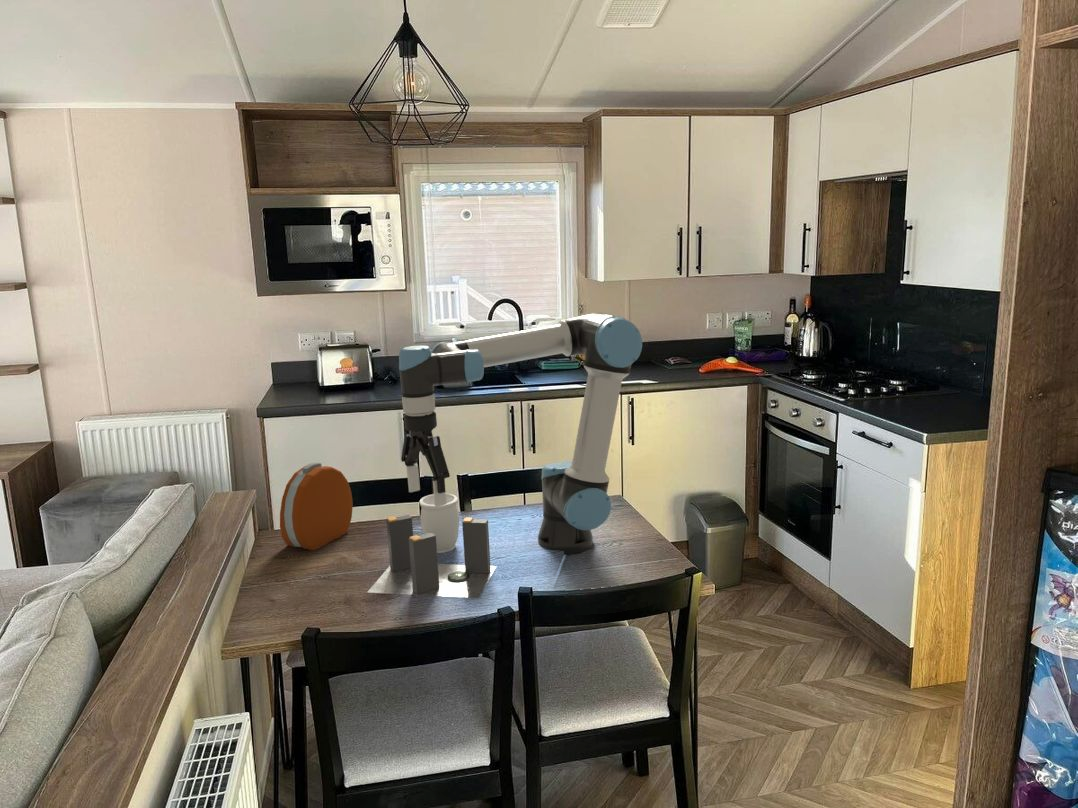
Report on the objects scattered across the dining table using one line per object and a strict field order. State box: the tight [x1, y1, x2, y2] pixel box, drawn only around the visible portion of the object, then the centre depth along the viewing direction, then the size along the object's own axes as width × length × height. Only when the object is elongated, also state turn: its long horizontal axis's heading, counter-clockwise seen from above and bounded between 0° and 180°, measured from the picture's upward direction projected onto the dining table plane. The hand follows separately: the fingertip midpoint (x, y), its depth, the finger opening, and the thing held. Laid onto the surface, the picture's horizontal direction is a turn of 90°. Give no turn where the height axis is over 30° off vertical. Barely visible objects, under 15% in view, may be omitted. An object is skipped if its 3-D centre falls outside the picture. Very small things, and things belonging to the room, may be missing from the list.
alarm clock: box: [279, 462, 354, 551], centre depth 234 cm, size 22×10×23 cm, turn 153°
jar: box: [419, 492, 460, 554], centre depth 223 cm, size 11×10×15 cm
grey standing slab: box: [409, 533, 439, 594], centre depth 197 cm, size 6×2×14 cm, turn 125°
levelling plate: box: [367, 563, 497, 599], centre depth 204 cm, size 28×18×2 cm, turn 79°
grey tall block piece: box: [461, 516, 491, 573], centre depth 206 cm, size 6×2×14 cm, turn 79°
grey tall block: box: [385, 514, 414, 572], centre depth 210 cm, size 6×2×14 cm, turn 116°
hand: (427, 497), depth 197 cm, fingers open, 13 cm apart
